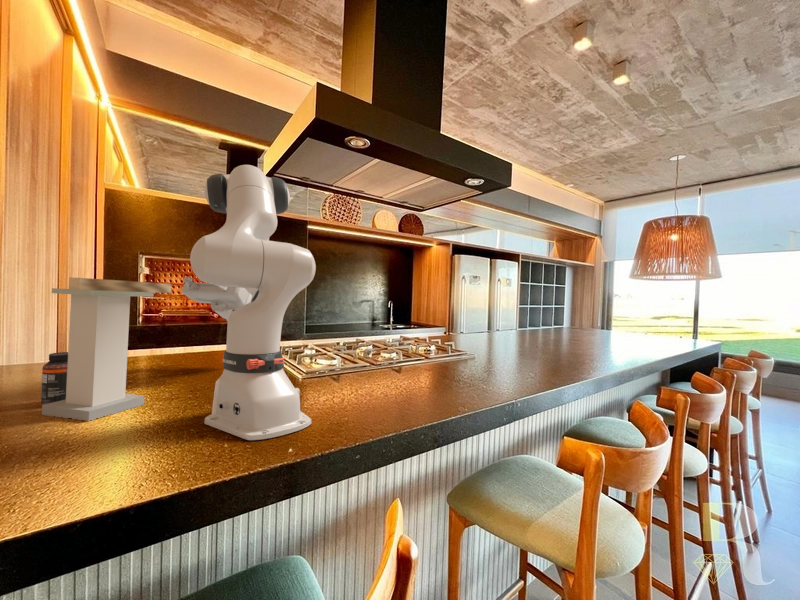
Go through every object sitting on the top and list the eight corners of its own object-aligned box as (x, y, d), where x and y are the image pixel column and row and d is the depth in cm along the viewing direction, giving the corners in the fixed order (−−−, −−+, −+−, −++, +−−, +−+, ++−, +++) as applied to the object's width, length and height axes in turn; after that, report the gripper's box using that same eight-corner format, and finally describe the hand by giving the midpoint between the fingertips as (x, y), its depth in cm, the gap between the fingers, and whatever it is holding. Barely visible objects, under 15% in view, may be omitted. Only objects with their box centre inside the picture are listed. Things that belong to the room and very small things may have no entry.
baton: (162, 292, 93) (162, 283, 93) (170, 293, 92) (171, 283, 92) (68, 289, 71) (69, 277, 71) (79, 289, 71) (80, 277, 71)
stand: (110, 396, 85) (116, 290, 85) (151, 402, 83) (157, 292, 83) (41, 414, 72) (48, 288, 72) (88, 421, 69) (95, 290, 69)
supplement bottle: (76, 397, 83) (79, 350, 83) (77, 404, 79) (80, 354, 79) (41, 402, 79) (43, 352, 79) (40, 408, 75) (42, 356, 75)
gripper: (202, 292, 119) (174, 269, 107) (256, 295, 115) (233, 271, 103) (194, 309, 116) (164, 286, 104) (250, 312, 112) (225, 289, 100)
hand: (199, 279), depth 103 cm, fingers open, 8 cm apart
